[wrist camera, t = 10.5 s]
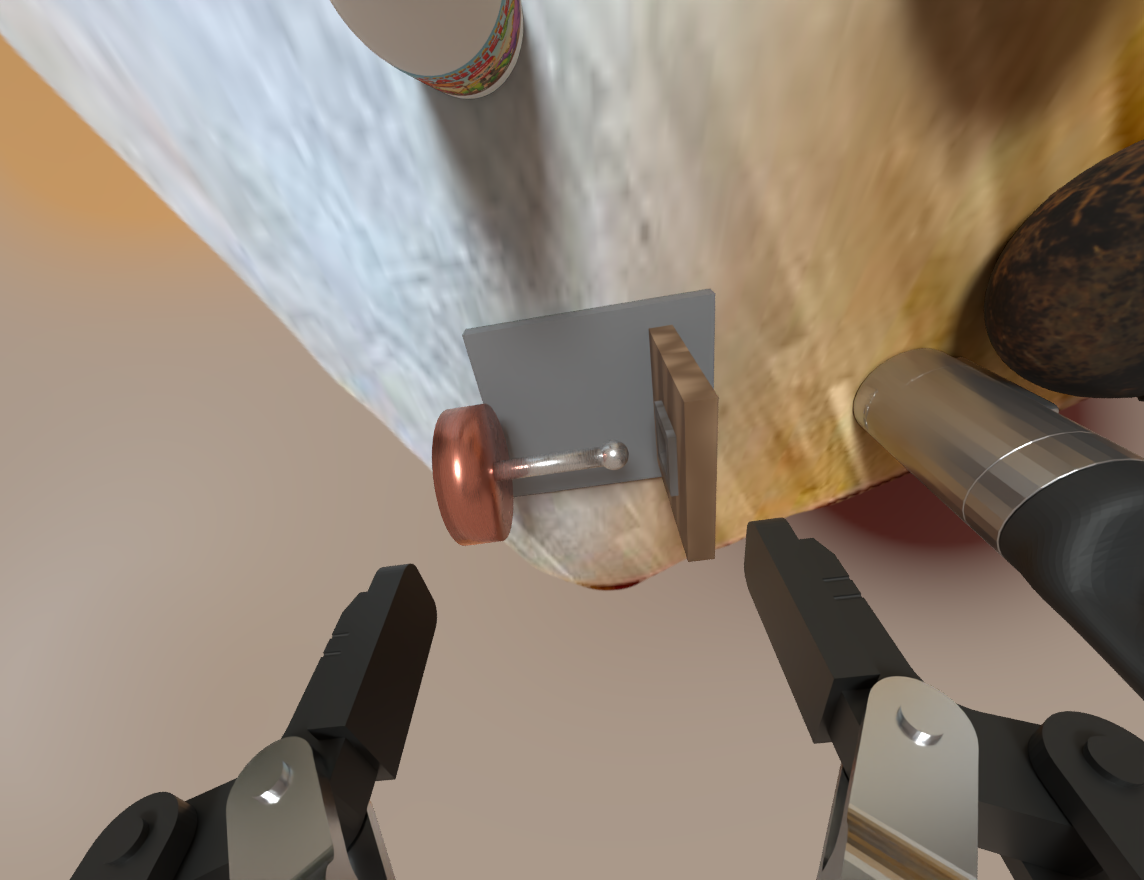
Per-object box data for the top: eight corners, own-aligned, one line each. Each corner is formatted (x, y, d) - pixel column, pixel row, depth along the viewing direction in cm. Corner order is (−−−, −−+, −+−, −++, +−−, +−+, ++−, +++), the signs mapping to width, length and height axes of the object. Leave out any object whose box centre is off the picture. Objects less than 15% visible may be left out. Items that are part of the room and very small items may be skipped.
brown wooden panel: (672, 324, 37) (718, 397, 26) (677, 458, 44) (714, 558, 33) (641, 329, 37) (674, 404, 26) (651, 462, 45) (680, 562, 34)
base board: (710, 288, 37) (715, 293, 35) (708, 461, 46) (712, 469, 45) (465, 329, 38) (462, 335, 37) (513, 487, 48) (512, 497, 47)
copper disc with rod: (614, 360, 36) (632, 431, 27) (626, 466, 42) (644, 553, 33) (453, 385, 37) (417, 462, 28) (487, 485, 43) (467, 575, 34)
